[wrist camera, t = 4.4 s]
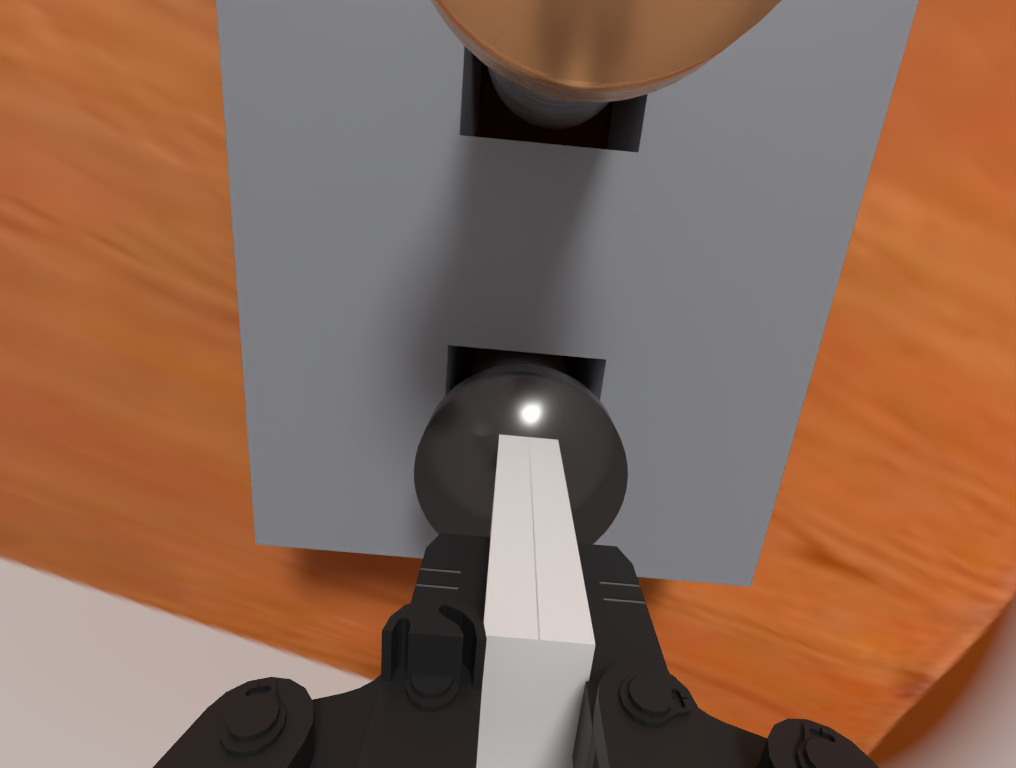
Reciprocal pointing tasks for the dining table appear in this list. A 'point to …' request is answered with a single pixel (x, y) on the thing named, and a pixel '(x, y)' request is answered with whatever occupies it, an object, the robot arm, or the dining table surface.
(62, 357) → the dining table surface
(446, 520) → the plug black
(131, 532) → the dining table surface
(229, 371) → the dining table surface
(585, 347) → the socket board
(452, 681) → the robot arm
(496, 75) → the plug terracotta
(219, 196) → the dining table surface
